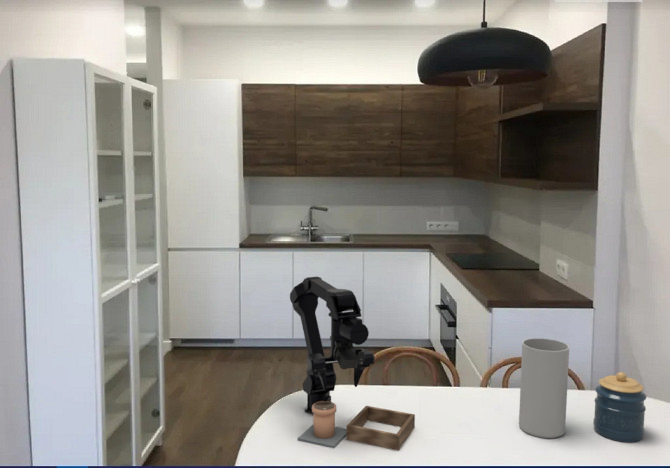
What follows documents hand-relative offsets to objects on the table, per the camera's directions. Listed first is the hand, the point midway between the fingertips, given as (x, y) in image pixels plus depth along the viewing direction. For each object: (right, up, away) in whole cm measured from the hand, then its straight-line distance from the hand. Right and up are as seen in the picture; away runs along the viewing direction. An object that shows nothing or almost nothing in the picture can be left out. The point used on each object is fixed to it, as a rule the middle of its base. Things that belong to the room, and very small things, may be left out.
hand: (340, 388), depth 164 cm
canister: (+79, -13, 0) cm, 80 cm away
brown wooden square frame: (+12, -12, -2) cm, 17 cm away
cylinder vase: (+58, -12, +1) cm, 59 cm away
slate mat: (-5, -12, -4) cm, 14 cm away
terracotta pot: (-4, -12, -4) cm, 13 cm away
